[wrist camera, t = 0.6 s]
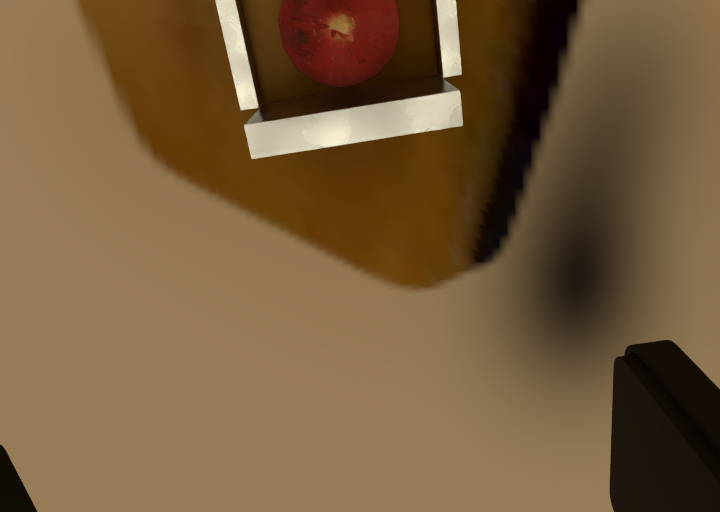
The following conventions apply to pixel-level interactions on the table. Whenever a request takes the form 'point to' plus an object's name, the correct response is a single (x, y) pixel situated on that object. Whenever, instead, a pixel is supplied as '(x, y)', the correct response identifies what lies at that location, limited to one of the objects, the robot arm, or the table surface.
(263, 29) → the table surface
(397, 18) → the pomegranate
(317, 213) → the table surface
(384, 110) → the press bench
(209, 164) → the table surface
